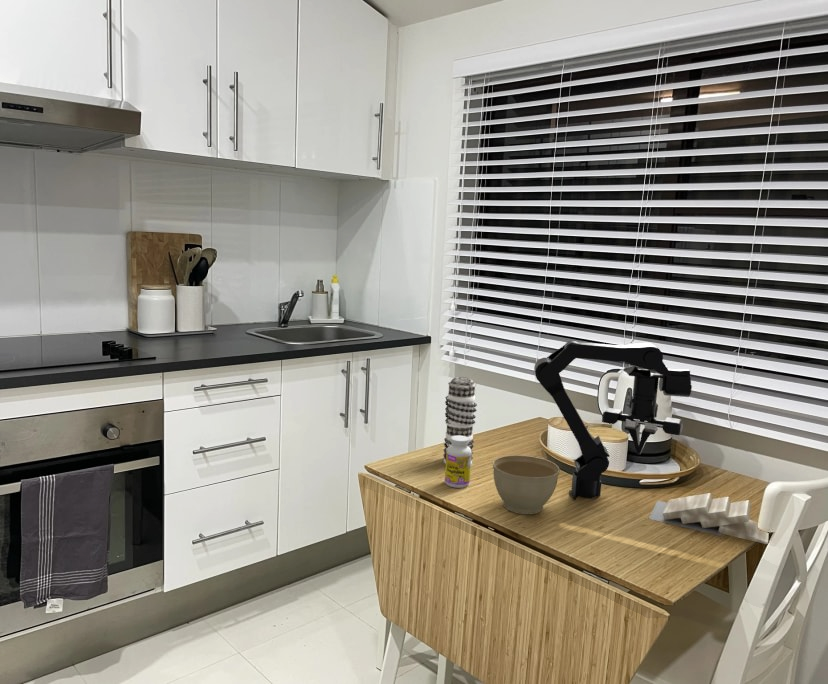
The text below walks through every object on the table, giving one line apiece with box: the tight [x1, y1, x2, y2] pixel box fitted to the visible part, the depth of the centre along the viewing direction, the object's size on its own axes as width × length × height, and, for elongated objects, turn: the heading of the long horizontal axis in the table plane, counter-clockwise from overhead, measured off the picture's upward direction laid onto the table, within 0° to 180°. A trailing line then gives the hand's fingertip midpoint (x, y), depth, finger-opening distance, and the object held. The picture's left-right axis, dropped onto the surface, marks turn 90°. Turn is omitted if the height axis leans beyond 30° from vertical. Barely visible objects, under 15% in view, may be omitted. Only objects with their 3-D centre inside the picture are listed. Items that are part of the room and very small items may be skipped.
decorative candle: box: [442, 376, 478, 465], centre depth 190 cm, size 9×9×25 cm
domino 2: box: [681, 496, 732, 524], centre depth 156 cm, size 2×10×10 cm
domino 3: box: [701, 499, 752, 528], centre depth 154 cm, size 2×10×10 cm
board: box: [648, 500, 723, 537], centre depth 158 cm, size 16×13×1 cm
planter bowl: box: [492, 454, 560, 515], centre depth 161 cm, size 16×16×11 cm
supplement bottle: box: [444, 435, 473, 489], centre depth 175 cm, size 7×7×13 cm
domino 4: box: [718, 518, 770, 545], centre depth 152 cm, size 2×10×10 cm
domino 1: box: [662, 492, 714, 520], centre depth 158 cm, size 2×10×10 cm
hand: (638, 453), depth 166 cm, fingers closed
